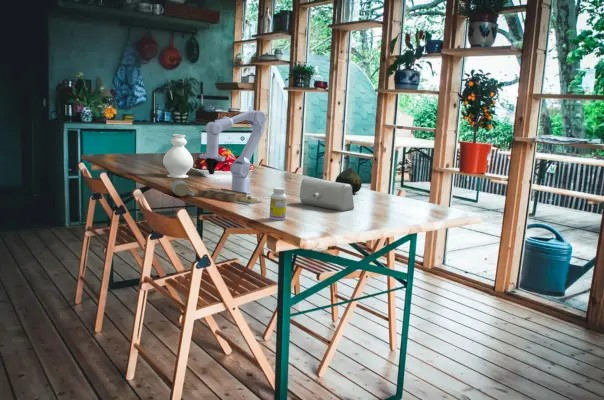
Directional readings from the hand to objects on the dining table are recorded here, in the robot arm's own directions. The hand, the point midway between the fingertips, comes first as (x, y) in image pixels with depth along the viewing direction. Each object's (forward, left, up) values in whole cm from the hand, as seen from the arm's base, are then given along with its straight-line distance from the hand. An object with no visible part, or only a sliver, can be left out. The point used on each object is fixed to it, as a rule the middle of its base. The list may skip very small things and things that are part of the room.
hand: (211, 174), depth 279 cm
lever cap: (+2, +24, -10) cm, 26 cm away
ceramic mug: (+13, -6, -11) cm, 18 cm away
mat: (+2, +25, -10) cm, 27 cm away
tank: (-17, +55, -11) cm, 59 cm away
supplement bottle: (+24, +56, -11) cm, 62 cm away
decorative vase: (-36, -56, -11) cm, 67 cm away
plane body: (+2, +9, -10) cm, 14 cm away
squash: (-69, +42, -11) cm, 81 cm away
